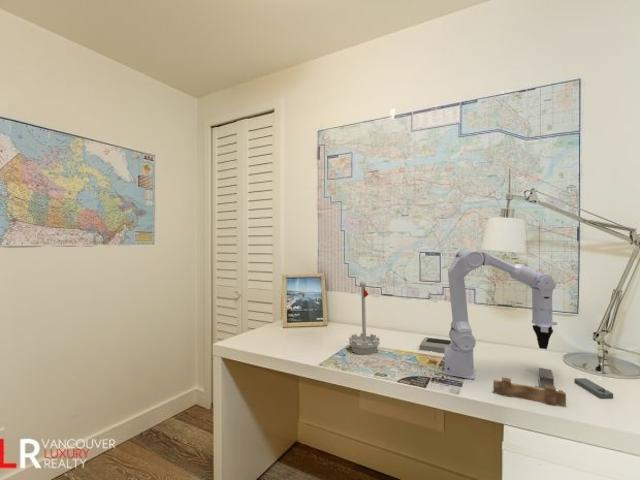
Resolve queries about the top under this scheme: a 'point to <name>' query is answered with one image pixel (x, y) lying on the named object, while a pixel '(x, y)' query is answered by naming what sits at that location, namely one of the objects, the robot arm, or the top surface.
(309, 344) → the top surface
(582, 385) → the bracket
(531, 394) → the brown wooden bar
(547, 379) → the block
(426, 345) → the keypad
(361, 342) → the flag stand
